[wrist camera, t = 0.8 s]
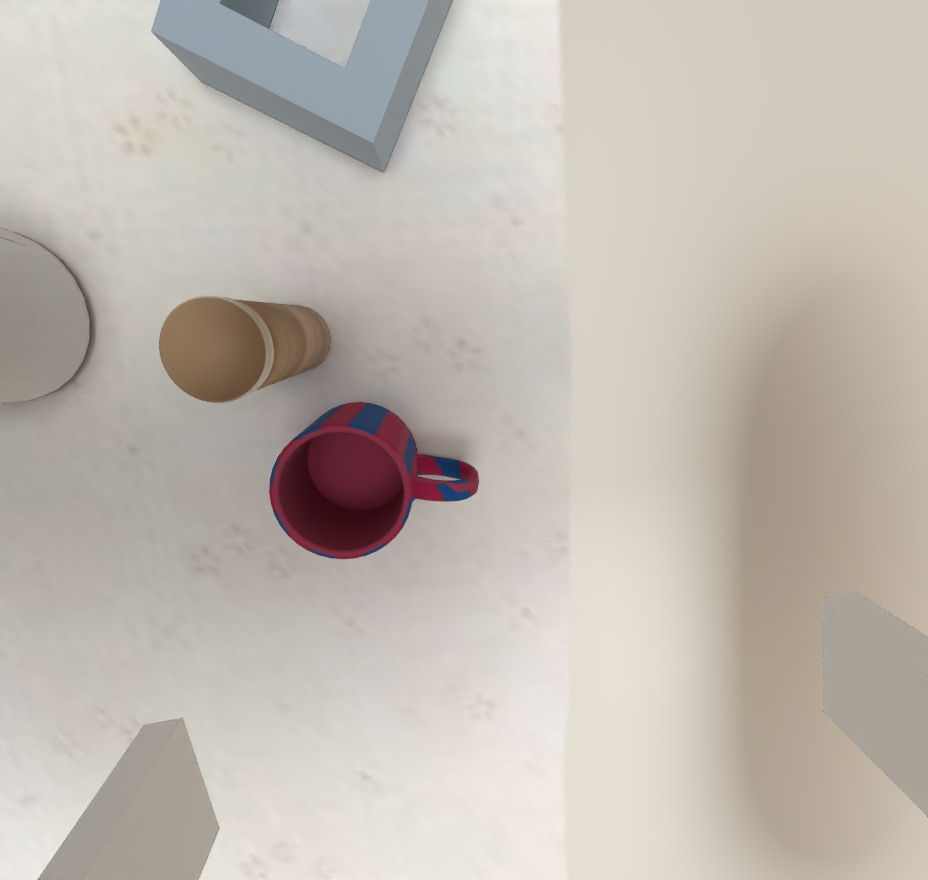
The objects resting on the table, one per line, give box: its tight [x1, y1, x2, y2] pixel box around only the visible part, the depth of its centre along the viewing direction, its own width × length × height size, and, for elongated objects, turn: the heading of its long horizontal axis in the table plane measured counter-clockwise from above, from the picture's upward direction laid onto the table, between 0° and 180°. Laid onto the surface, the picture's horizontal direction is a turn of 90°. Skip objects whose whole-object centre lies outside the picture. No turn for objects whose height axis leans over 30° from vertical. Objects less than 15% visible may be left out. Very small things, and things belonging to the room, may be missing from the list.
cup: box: [269, 402, 479, 559], centre depth 29 cm, size 7×10×7 cm
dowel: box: [159, 296, 331, 403], centre depth 25 cm, size 4×4×12 cm
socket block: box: [151, 0, 453, 172], centre depth 25 cm, size 10×10×5 cm
